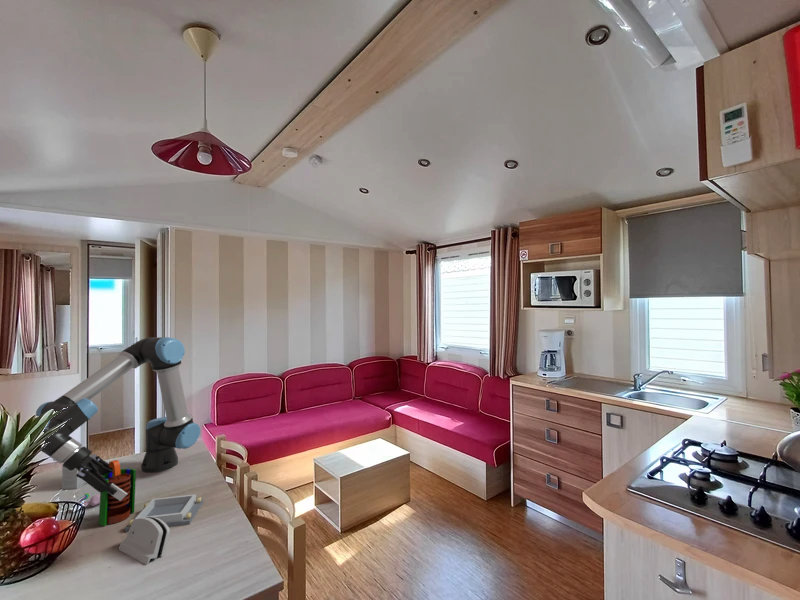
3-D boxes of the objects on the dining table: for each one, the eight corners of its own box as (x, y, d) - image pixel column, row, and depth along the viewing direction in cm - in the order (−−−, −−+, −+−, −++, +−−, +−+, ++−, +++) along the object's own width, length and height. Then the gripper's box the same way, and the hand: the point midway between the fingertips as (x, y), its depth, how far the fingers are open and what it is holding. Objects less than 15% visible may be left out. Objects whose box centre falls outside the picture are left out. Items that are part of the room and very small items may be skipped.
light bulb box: (82, 478, 164) (82, 454, 164) (97, 477, 164) (97, 453, 164) (60, 489, 153) (61, 464, 153) (77, 489, 153) (77, 463, 154)
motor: (111, 526, 125) (113, 468, 126) (91, 524, 127) (93, 466, 128) (138, 511, 135) (140, 457, 136) (118, 509, 137) (120, 455, 138)
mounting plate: (146, 508, 137) (146, 499, 137) (203, 502, 141) (203, 492, 141) (125, 532, 122) (125, 521, 122) (189, 524, 127) (189, 513, 127)
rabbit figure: (66, 520, 132) (117, 500, 142) (63, 505, 132) (114, 485, 141) (68, 513, 137) (117, 493, 147) (65, 498, 137) (114, 480, 146)
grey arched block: (117, 548, 114) (130, 513, 117) (133, 545, 118) (145, 511, 121) (147, 565, 106) (159, 526, 109) (163, 561, 110) (174, 524, 113)
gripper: (75, 454, 135) (127, 489, 140) (47, 475, 117) (108, 515, 122) (93, 437, 137) (143, 473, 142) (69, 456, 119) (127, 496, 124)
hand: (127, 492), depth 132 cm, fingers closed on motor, 7 cm apart
